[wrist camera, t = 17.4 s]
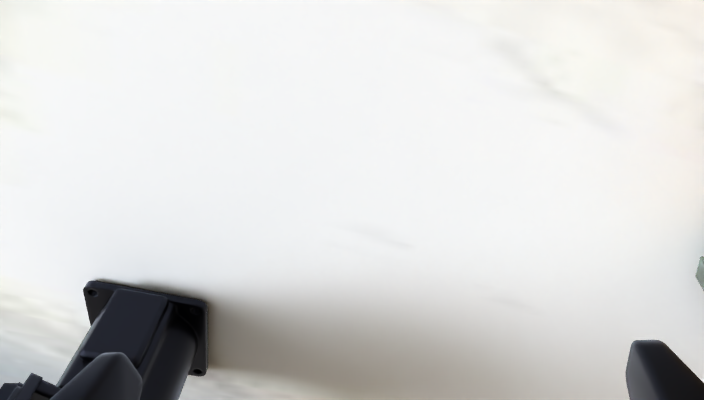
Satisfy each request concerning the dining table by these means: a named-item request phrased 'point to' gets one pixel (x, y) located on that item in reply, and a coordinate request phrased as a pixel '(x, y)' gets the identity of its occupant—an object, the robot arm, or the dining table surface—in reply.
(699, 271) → the drawer
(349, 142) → the dining table surface
